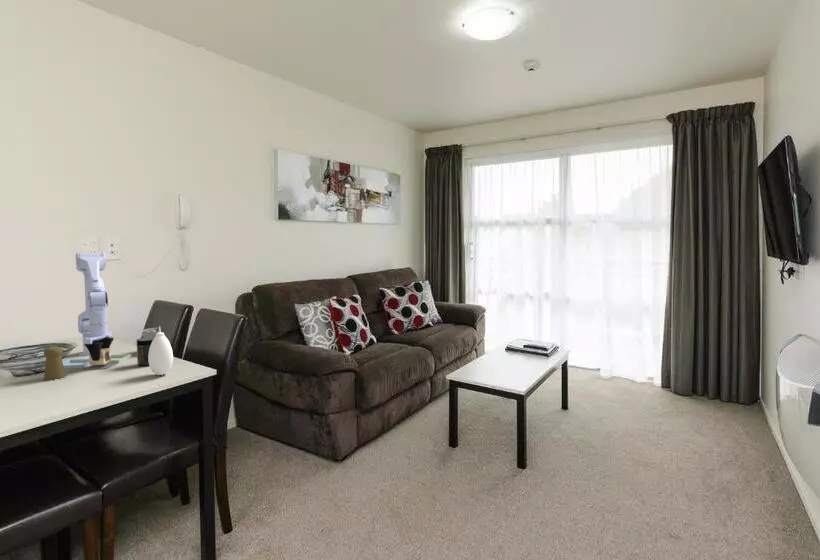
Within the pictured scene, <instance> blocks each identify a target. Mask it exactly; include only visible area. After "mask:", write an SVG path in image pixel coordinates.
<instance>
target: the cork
mask: <svg viewBox="0 0 820 560" xmlns="http://www.w3.org/2000/svg"><path fill="white" fill-rule="evenodd" d="M63 353H64V350H63V348H62V347H61V346H49V347H46V348H45V349H44V351H43V355H44V357H45V365H44V374H43V381H46V380H52V381H56V380H55V379H59V380H61V378H63V379H65V378H66V377H65V376H66V372H65V369H64V367H63V362H64V361H63V358H62V355H63ZM64 377H65V378H64Z"/></svg>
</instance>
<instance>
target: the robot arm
mask: <svg viewBox="0 0 820 560" xmlns="http://www.w3.org/2000/svg"><path fill="white" fill-rule="evenodd" d="M106 260H107V257H106V253H105V252H103V251H102V252H76V253H75V266H76V270H77V271H78V272H80V273H82V275H83V277H84V297H85V299H84V301H85V310H84V311H82V312H80V313H79V314H78V316H77V331H78V333H79V334H82V350H83V351H82V352H81V353H79V354H78V356H80V357H81V356H83V357H84V356H89V352H90V355H91V358H92V360H93V361H99V359H100V352H101V348H111V345H112V343H113V342H114V337H113V331H112V330H109V328H108V327H109V324H108V307H109V294H108V291H107V289H106V286H105V281H104V280H103V278H101V277H100V275H101V274H100V272H102V271H104V270H105V268H106V265H107V261H106ZM77 271H76V272H77Z"/></svg>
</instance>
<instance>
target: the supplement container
mask: <svg viewBox="0 0 820 560" xmlns="http://www.w3.org/2000/svg"><path fill="white" fill-rule="evenodd" d="M154 338H155V337H146V338H144V337H140V338H136V342H135V343H136V360H137V361H136V364H137V367H141V368H146V367H147V368H148V367H150V366H149V361H148V354H149V349H150V346H151V343H152V341H153V339H154Z"/></svg>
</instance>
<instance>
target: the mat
mask: <svg viewBox="0 0 820 560" xmlns="http://www.w3.org/2000/svg"><path fill="white" fill-rule="evenodd" d="M117 364H118V363H110V364H104V365H88V366H86V367H84V368H83V370H85V371H87V370H89V371H90V370H91V371H92V370H107V369H110V368H112V367H115V366H116V365H117Z"/></svg>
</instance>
